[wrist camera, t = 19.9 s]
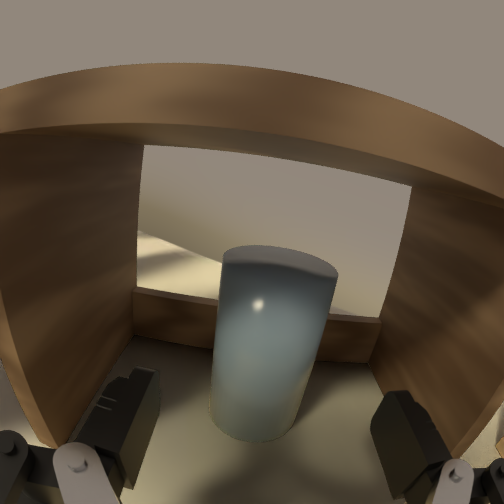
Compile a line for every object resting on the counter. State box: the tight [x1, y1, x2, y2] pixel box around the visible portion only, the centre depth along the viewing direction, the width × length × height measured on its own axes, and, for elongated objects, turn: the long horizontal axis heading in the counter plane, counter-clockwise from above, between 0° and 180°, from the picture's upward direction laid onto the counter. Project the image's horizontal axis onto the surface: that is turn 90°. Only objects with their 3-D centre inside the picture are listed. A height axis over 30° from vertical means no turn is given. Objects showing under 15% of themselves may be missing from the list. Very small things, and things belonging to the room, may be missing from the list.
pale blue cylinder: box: [209, 245, 338, 442], centre depth 15 cm, size 6×6×10 cm
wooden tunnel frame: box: [0, 63, 504, 459], centre depth 15 cm, size 23×14×16 cm, turn 89°
